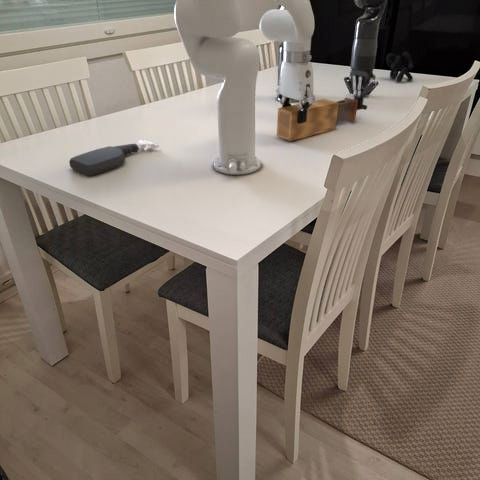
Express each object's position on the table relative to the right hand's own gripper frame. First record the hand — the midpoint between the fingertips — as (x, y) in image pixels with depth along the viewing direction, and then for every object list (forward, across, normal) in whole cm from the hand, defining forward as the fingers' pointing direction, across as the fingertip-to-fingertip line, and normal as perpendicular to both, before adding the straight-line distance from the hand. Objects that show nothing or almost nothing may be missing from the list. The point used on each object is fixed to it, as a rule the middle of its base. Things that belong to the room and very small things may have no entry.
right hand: (357, 107), depth 151 cm
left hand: (-2, 0, +30) cm, 30 cm away
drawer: (+3, 0, +10) cm, 10 cm away
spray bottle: (+4, +19, +80) cm, 82 cm away
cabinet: (+4, 0, +24) cm, 24 cm away
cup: (+3, +18, -26) cm, 31 cm away
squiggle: (+3, +25, -60) cm, 65 cm away
